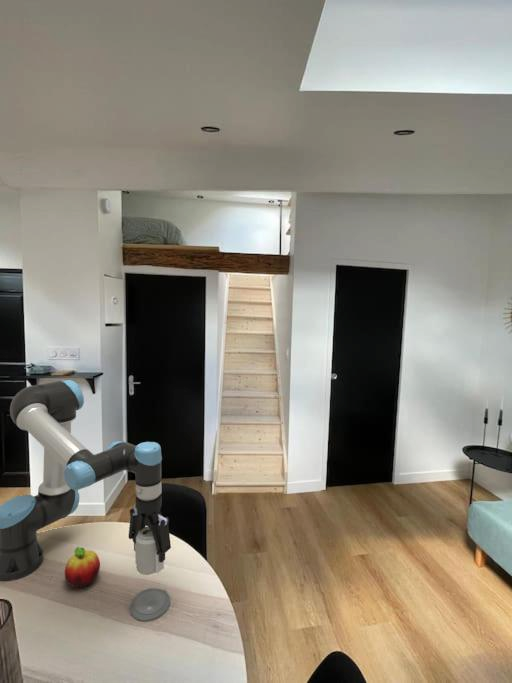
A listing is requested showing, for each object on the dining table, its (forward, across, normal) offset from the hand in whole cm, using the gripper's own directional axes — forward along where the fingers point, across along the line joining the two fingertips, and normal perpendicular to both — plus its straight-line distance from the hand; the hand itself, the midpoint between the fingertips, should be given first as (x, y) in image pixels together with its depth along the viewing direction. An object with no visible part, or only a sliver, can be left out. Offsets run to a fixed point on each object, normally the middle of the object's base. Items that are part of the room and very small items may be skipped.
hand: (149, 565), depth 115 cm
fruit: (+13, -27, -3) cm, 30 cm away
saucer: (+13, 0, 0) cm, 13 cm away
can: (+1, 0, 0) cm, 1 cm away
